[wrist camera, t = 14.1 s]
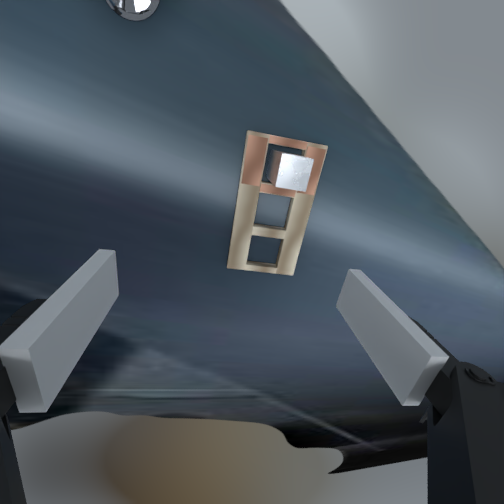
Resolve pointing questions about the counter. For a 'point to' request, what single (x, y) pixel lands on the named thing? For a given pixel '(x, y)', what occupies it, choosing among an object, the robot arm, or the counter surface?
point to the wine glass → (134, 8)
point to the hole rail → (254, 184)
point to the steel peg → (289, 170)
